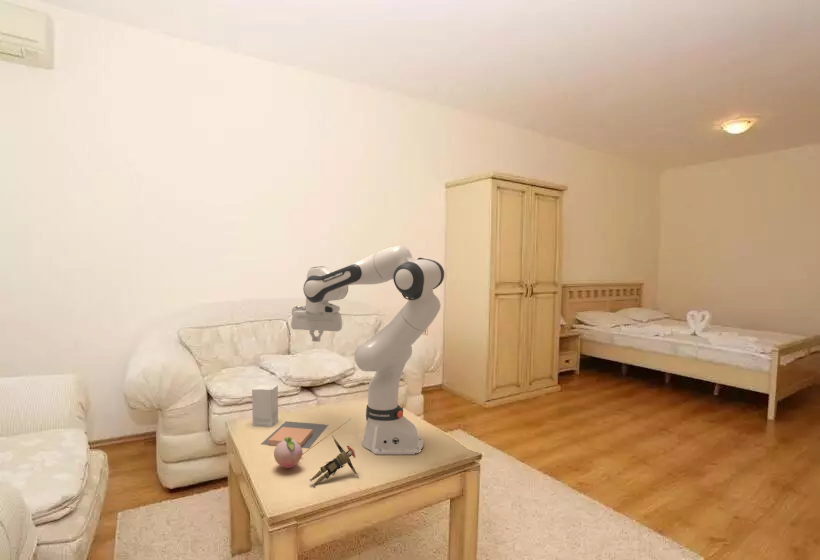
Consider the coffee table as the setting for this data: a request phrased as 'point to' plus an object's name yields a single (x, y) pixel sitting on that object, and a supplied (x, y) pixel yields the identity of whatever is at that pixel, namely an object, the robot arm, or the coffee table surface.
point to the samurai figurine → (335, 461)
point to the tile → (291, 435)
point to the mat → (316, 428)
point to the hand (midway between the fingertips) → (316, 341)
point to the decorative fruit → (288, 452)
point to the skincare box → (265, 405)
